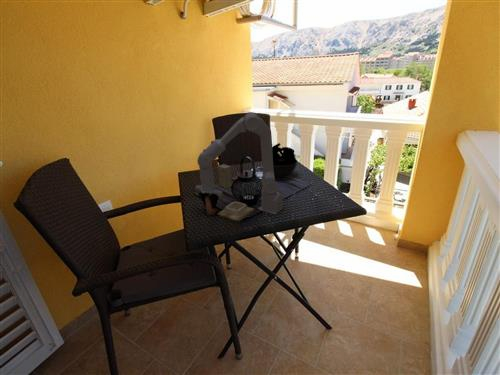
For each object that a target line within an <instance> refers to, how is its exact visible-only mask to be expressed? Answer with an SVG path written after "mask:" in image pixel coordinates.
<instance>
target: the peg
mask: <svg viewBox="0 0 500 375" xmlns="http://www.w3.org/2000/svg"><path fill="white" fill-rule="evenodd" d="M210 195H211V194H209V195H208V196H210ZM208 196H206V197H205V201H206V207H205V209H206V214H207V215H208V216H209V215H210V216H211V215H212V216H213V215H215V214H216V211H217V210H216V208H215V209H212V206H211V202H210V199H209V197H208Z"/></svg>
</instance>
